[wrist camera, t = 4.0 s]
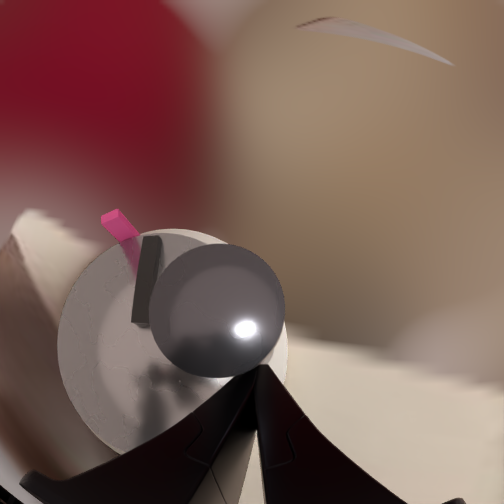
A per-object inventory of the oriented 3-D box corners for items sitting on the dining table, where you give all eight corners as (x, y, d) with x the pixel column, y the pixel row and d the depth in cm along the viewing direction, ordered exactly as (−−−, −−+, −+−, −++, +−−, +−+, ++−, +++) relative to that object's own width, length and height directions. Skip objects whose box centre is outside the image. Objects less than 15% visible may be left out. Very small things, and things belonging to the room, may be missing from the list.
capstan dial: (279, 466, 11) (278, 583, 2) (64, 426, 12) (-56, 425, 3) (277, 235, 16) (271, 92, 8) (83, 245, 17) (-4, 163, 9)
